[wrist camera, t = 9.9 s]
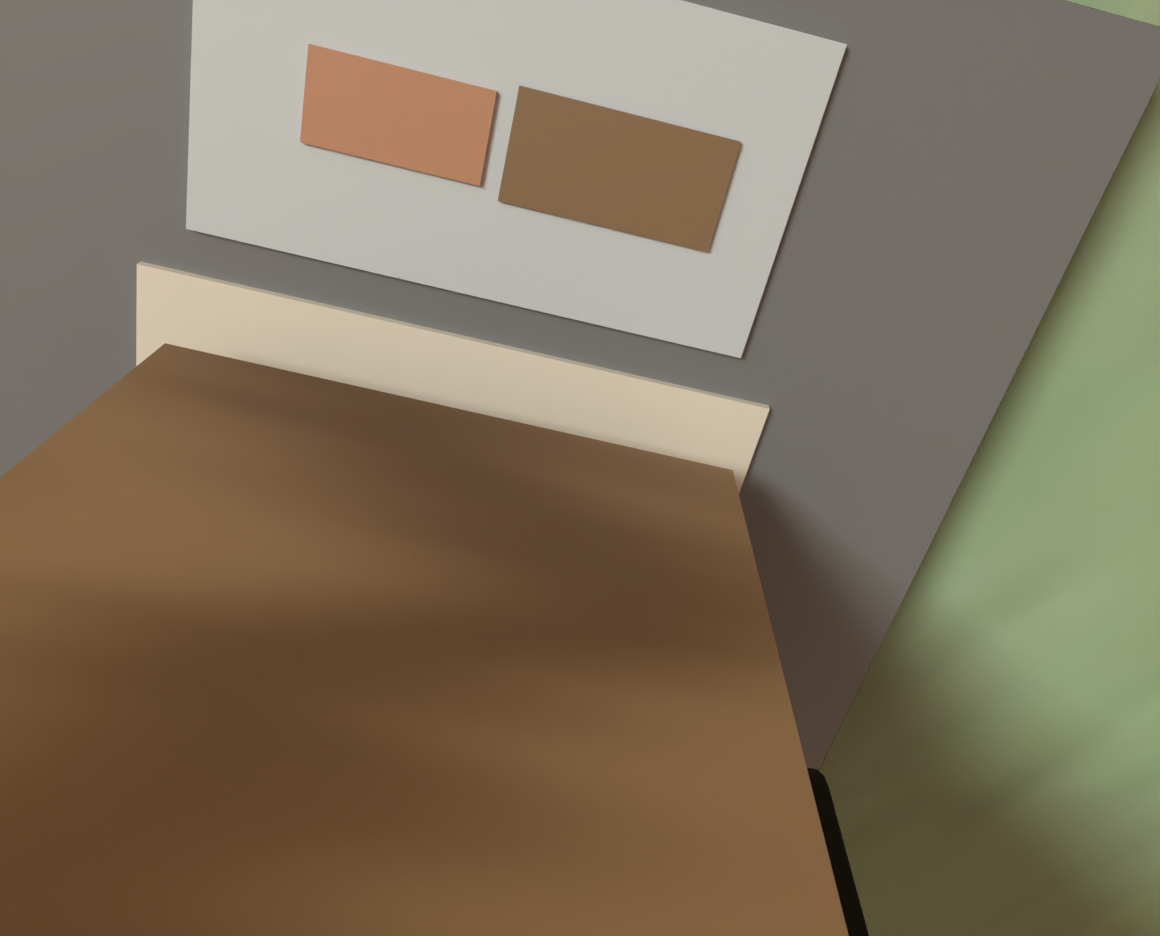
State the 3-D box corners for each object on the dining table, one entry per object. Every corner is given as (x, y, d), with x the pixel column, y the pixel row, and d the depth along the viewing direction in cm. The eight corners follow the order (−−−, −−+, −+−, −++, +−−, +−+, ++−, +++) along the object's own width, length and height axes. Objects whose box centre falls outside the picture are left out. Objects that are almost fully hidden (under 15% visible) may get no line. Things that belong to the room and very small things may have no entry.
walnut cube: (732, 469, 10) (906, 1167, 4) (599, 844, 13) (589, 1572, 7) (165, 342, 9) (-558, 933, 4) (156, 761, 12) (-255, 1469, 6)
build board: (1128, 27, 9) (1191, 34, 8) (687, 972, 17) (692, 1036, 16) (-85, -306, 8) (-182, -346, 7) (15, 855, 16) (-27, 916, 15)
